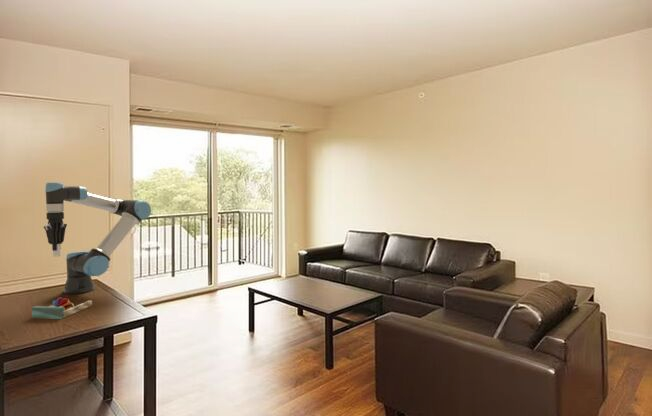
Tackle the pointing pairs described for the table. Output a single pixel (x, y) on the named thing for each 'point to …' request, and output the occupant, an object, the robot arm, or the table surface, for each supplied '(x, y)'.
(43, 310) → the channel
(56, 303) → the rainbow disc toy
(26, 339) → the table surface
